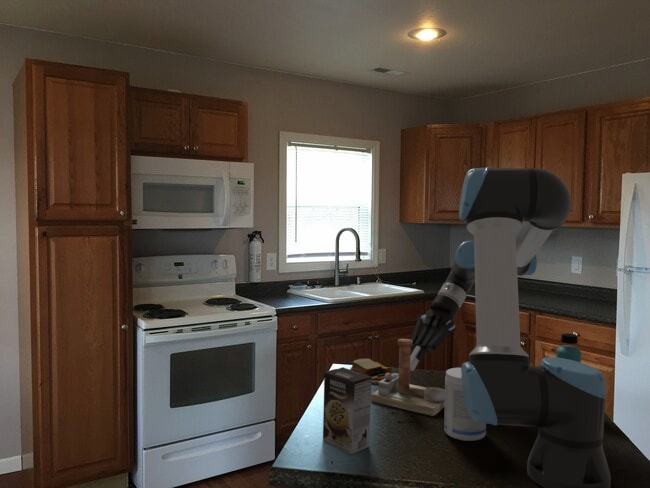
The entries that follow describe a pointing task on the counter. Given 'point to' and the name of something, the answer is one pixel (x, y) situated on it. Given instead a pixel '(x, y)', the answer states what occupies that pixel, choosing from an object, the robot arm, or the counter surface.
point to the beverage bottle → (569, 348)
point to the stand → (403, 397)
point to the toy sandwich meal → (371, 369)
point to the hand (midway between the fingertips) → (409, 367)
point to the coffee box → (347, 409)
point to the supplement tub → (459, 411)
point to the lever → (404, 376)
